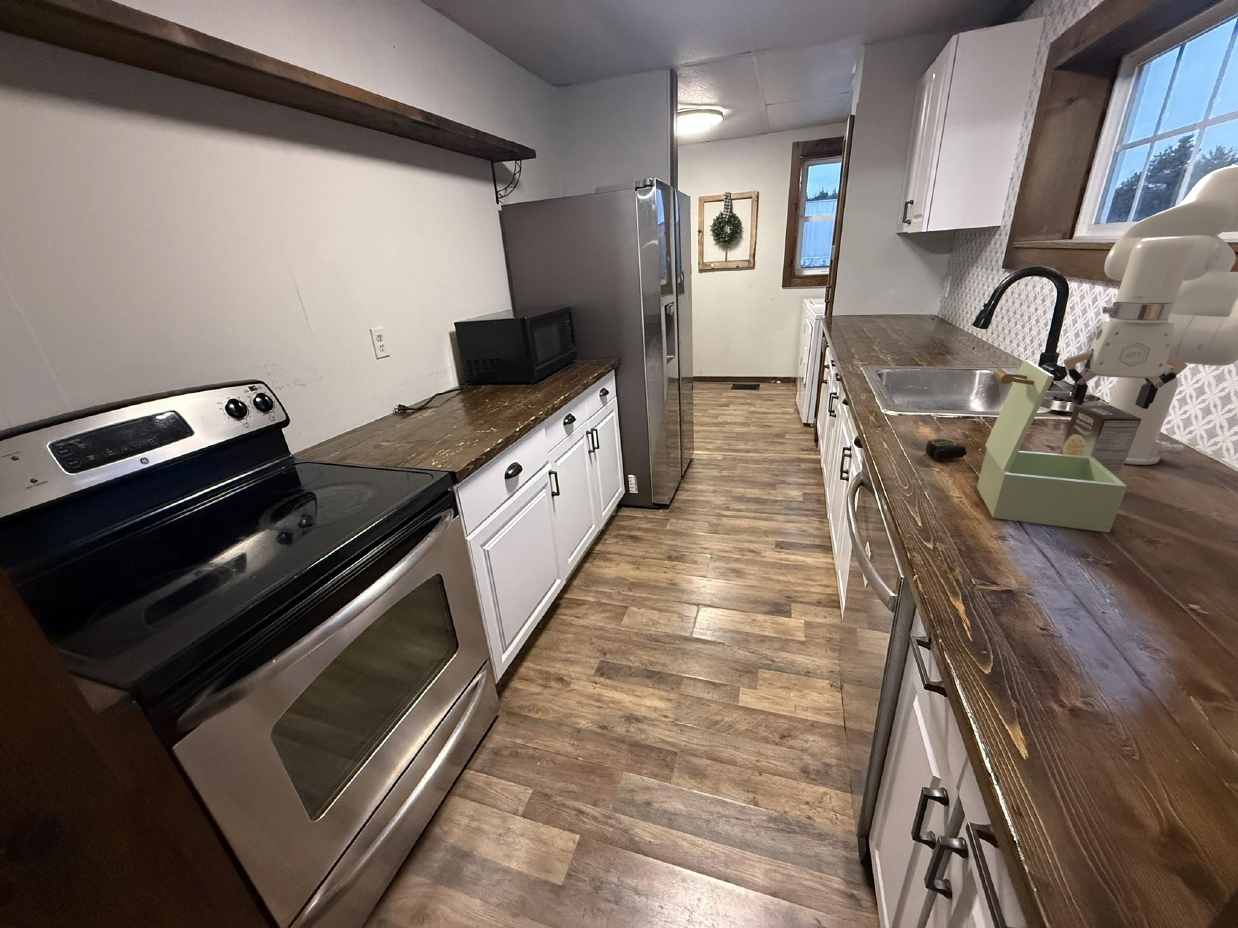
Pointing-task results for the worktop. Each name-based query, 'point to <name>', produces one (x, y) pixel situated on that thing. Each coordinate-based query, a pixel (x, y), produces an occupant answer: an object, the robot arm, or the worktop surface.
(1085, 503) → the chest
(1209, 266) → the robot arm
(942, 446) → the tape measure
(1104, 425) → the coffee box
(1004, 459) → the lid
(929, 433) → the worktop surface
